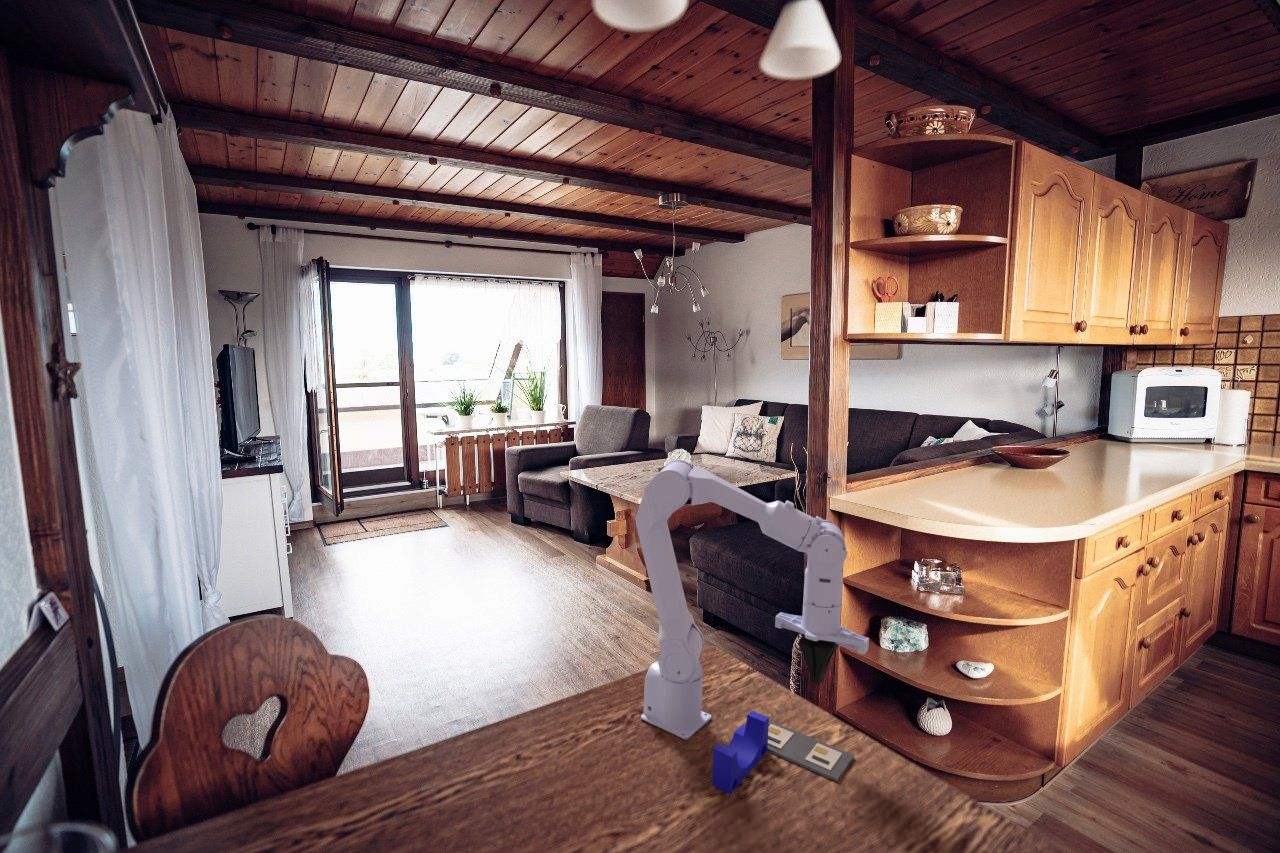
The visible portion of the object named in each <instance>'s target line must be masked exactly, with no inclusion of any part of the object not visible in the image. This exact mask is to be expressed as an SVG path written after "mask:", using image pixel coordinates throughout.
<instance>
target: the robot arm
mask: <svg viewBox="0 0 1280 853" xmlns="http://www.w3.org/2000/svg"><path fill="white" fill-rule="evenodd" d="M689 499H691V506H696V505H701V504H706V503H710V502H711V503H714V504H716V505H718V506H721V507H722V508H725V509H728V510H730V511H732V512H734V513H737V514H739V515H741V516H743V517H745V518H748V519H750V520H752V521H754V522H756V523H758V524H759V527H760V530H761V533H762V534H764V535H766V536H767V537H769V538H771V539H773V540H775V541H778V542H779V543H782V544H783V545H786V546H787V547H790V548H792V549H794V550H796V551H797V552H801V553H805V554H806V556H807V563H806V564H807V565H806V568H805V569H804V583H803V584H804V585H803V598H802V599H803V601H802V602H803V603H802V615H795V614H789V613H785V612H781V611H780V612H779V613H778V614H776V615H775V619H774V620H775V622H774V623H775V625H774V627H775V628H778V629H786V630H789V631H792V632H797V633H800V634H801V636H800V639H799V640H798V646H799V648H800V650H801V652H802V654H803V657H804V659H805V662H806V665H807V668H808V672H809V678H810V683H812V684H814V685H817V686H820V685H821V684H822V682H824V681H825V675H826V672H827V670H828V667H829V664H830V662H831V659H832V657H833V656H834V654H835V653H836V651H837V649H838V648H839V646H840V647H841V646H842V647H845V648H847V649H851V650H854V651H856V652H857V654H861V655H864V656H865V654H866V653H867V652H868V651H869V642H870V638H869V637H866V636H863V635H860V634H858V633H856V632H854V631H852V630H850V629H848V628H846V627H845V626H841V612H842V601H843V600H842V598H843V585H844V584H843V583H844V582H843V581H844V574H843V569H844V563H845V561H846V559H847V556H848V551H847V545H846V541H845V537H844V534H843V531H842V530H841V528H839V527H838V525H836V524H835V523H833V522H832V521H831V520H830V519H823V518H822V517H820V516H818V515H816V516H815V517H813V516H811V515H809V514H807V513H805V512H803V511H801V510H800V509H797V508H795V503H793V502H792V501H790V500H786V501H785V503H784V502H783V501H781V500H775V501H771V502H766V501H763V500H762V499H760V498H758V497H756V496H754V495H752V494H750V493H749V492H747V491H745V490H743V489H741V488H739V487H738V486H736V485H734V484H732V483H730V482H728V481H727V480H725V479H724V478H721V477H720V476H718V475H716V474H714V473H713V472H710V471H709V470H707V469H705V468H703V467H701V466H698V465H694V466H693V465H692V464H691V463H690V462H688V461H686V460H684V459H683V460H682V459H674V460H670V461H669V462H667V463H666V464H665V465H664V466H663V467H662V468H661V469H660V471H658V473H656V474H655V476H653V478H651V479H650V481H649V482H648V483H647V484H646V486H645V487H644V491H643V495H642V498H641V500H640V503H639V506H638V508H637V512H636V514H635V517H634V518H635V527H636V530H637V535H638V538H639V539H638V540H639V543H640V547H641V551H642V555H643V559H644V564H645V569H646V572H647V576H648V580H649V583H650V588H651V593H652V596H653V602H654V604H655V605H654V606H655V610H656V614H657V617H658V621H659V624H658V626H659V628H658V645H659V648H660V650H659V656H658V659H657V661H655V662H653V663H652V664H651V665H650V666H649V668H648V670H647V672H646V674H645V677H644V683H643V684H644V687H643V689H644V690H643V713H642V714H641V715H640V719H641V720H643V721H646V722H647V723H648V724H651V725H653V726H656V727H658V728H660V729H662V730H663V731H666V732H668V733H669V734H673V735H675V736H677V737H679V738H681V739H683V740H689V739H690V738H691V737H692V736H693V735H694V734H695V733H697V732H698V731H699V730H700V729H701V728H702V727H704V725H705V724H707V723H708V722H709V721H710V720H712V715H711V714H710V713H708V712H706V711H703V710H702V704H703V679H704V678H703V676H704V674H703V672H704V669H703V666H702V664H701V663H700V660H699V658H700V657H701V656H700V655H701V652H702V650H703V648H704V646H705V638H704V635H703V632H702V631H701V630H700V629H699V627H698V626H697V624H696V623H695V619H694V615H693V614H692V612H690V611H689V609H688V604H687V601H686V596H685V593H684V592H685V591H684V588H683V583H682V579H681V575H680V571H679V567H678V563H677V558H676V554H675V551H674V546H673V542H672V537H671V533H670V529H669V525H668V520H669V519H670V517H671V516H672V514H673V513H674V512H676V511H678V510H679V509H681V508H682V507H683V506H685V505H686V503H687V501H688V500H689Z"/></svg>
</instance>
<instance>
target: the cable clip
mask: <svg viewBox="0 0 1280 853" xmlns="http://www.w3.org/2000/svg"><path fill="white" fill-rule="evenodd" d="M769 720H770V717H769V716H766V715H763V714H762V713H758V712H757V711H754V710H750V711H749V712H748V713H747V715H746V723H745V724H743V723H742V724H741V725H740V726H739V727H738V728H737V729H736V730H735V731H734V732H733V736H732V738H731V740H730V742H729V744H728V746H725V745H723V744H721V743H717V744H716V745H715V746H714V748H712V750H713V754H712V774H711V775H712V781H711V783H712V786H713V787H715V788H717V789H719V790H721V791H723V792H725V793H727V794H729V795H732V793H733V792H734V791H735V790H736V788H738V787H739V786H740V784H741V783H742V782H743V780H744V779H745V778H746V777H747V776H748V775H749V773H750V772H751V771H752V770H753V769H754V768H755V767H756V766H757V764H758V763H759V762H760V761H761V760H762V758H764V756H765V755H766V754H767V753H768V751H767V749H768V728H769Z"/></svg>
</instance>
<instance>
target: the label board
mask: <svg viewBox="0 0 1280 853" xmlns="http://www.w3.org/2000/svg"><path fill="white" fill-rule="evenodd" d="M767 753H771V754H773V755H775V756H777V757H779V758H781V759H784V760H786V761H789V762H790V763H793V764H795V765H798V766H799V767H802V768H804V769H806V770H808V771H811V772H813V773H816V774H818V775H821V776H823V777H825V778H827V779H829V780H831V781H834V782H835V783H838V782H839V781H840V779H841V778H842V776H843V775H844V773H845V772H846V770H847V769H848V767H849V766H850V764H851V762H852V761H853V760H854V757H855V755H854V754H853V753H850V752H848V751H846V750H843V749H841V748H838V747H836V746H833V745H830V744H828V743H825V742H824V741H820V740H819V739H816V738H813V737H811V736H809V735H806V734H804V733H801V732H799V731H797V730H794V729H792V728H789V727H786V726H784V725H781V724H780V723H777V722H774V721H772V720H770V719H769V728H768V749H767Z"/></svg>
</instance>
